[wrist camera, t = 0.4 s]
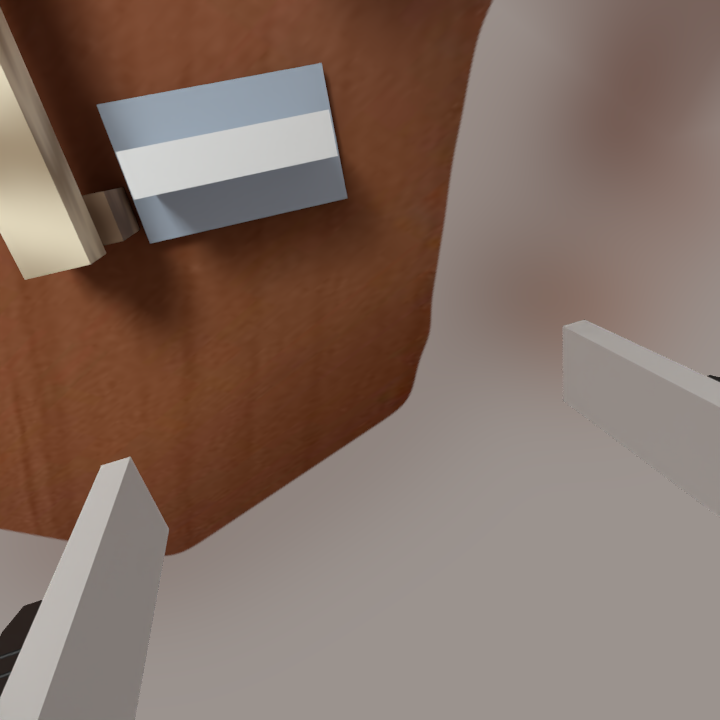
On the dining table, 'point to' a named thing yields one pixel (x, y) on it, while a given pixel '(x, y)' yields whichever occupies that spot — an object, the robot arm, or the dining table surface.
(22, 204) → the rod
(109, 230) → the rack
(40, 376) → the dining table surface
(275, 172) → the fulcrum
